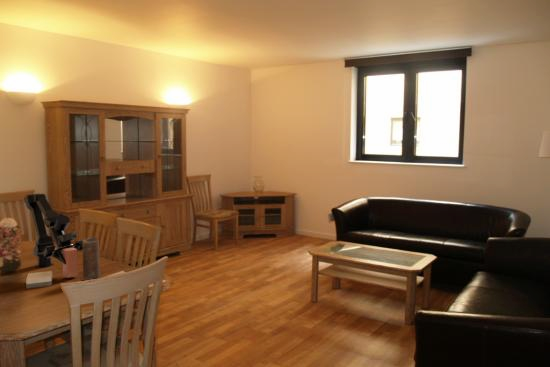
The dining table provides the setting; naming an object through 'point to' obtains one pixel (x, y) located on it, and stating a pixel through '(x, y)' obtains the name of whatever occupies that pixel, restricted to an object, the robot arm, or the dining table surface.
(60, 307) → the dining table surface
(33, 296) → the dining table surface
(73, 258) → the top brick
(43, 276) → the base block
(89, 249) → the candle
